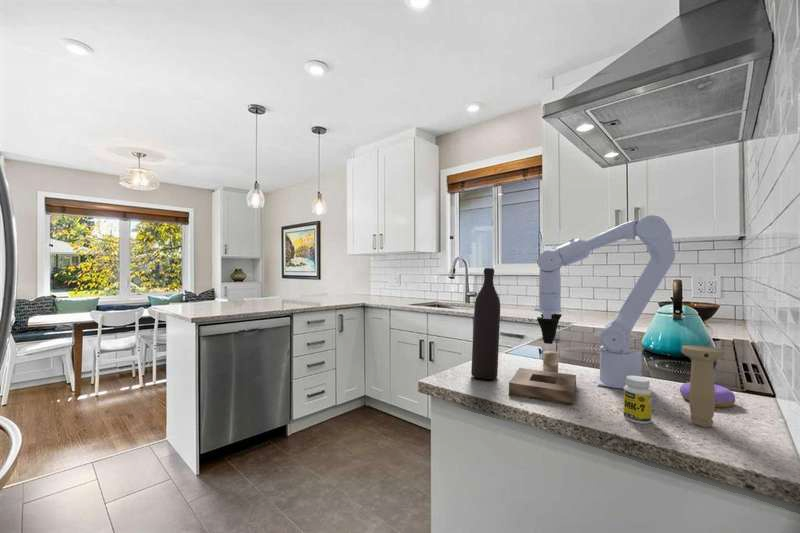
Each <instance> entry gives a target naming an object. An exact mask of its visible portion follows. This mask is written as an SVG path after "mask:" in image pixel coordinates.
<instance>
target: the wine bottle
mask: <svg viewBox="0 0 800 533" xmlns="http://www.w3.org/2000/svg"><path fill="white" fill-rule="evenodd" d="M483 275H484V276H483V277H484V278H483V279H484V280H483V285H482V287H481V289H480V291H479V292H478V294H477V296H476V298H475V302H474V309H473V311H474V312H473V329H472V330H473V332H472V350H471V351H472V352H471V371H470V374H471V376H473V377H475V378H477V379H481V380H482V379H483V380H494V379H497V378H498V375H499V374H498V373H499V370H498V369H499V367H498V366H499V345H500V344H499V343H500V323H501V302H500V300H501V299H500V297H499V294H498V293H497V290H496V288H495V285H494V275H495V269H494V268H493V267H484V269H483Z"/></svg>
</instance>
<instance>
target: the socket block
mask: <svg viewBox="0 0 800 533" xmlns="http://www.w3.org/2000/svg"><path fill="white" fill-rule="evenodd" d="M576 390H577V375H576V374H571V373H561V372H558V373H556V372H548V371H543V370H539V369H531V368H523V367H519V368H518V370H517V371H516V372H515V374H514V375H513V376H512V377H511V379H510V380H509V381H508V396H512V397H513V396H514V397H519V398H524V399H525V398H526V399H531V400H538V401H542V402H543V401H544V402H548V403H549V402H550V403H556V404H561V405H568V406H574V400H575V395H576Z"/></svg>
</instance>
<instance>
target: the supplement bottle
mask: <svg viewBox="0 0 800 533" xmlns="http://www.w3.org/2000/svg"><path fill="white" fill-rule="evenodd" d="M626 384H627V385H625V387H624V389H623V413H622V414H623V417H624V419H625V420H627V421H629V422H631V423H635V424H640V425H641V424H643V425H645V424H649V423H651V422H652V394H653V393H652V391H651V389H650V379H649V378H646V377H643V376H642V377H640V376H627V377H626Z"/></svg>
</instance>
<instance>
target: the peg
mask: <svg viewBox="0 0 800 533" xmlns="http://www.w3.org/2000/svg"><path fill="white" fill-rule="evenodd" d="M542 362H543V364H542V371H548V372H556V373H559V353H558V352H556V351H552V350H551V351H550V350H547V351H546V350H545V351H543V355H542Z"/></svg>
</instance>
